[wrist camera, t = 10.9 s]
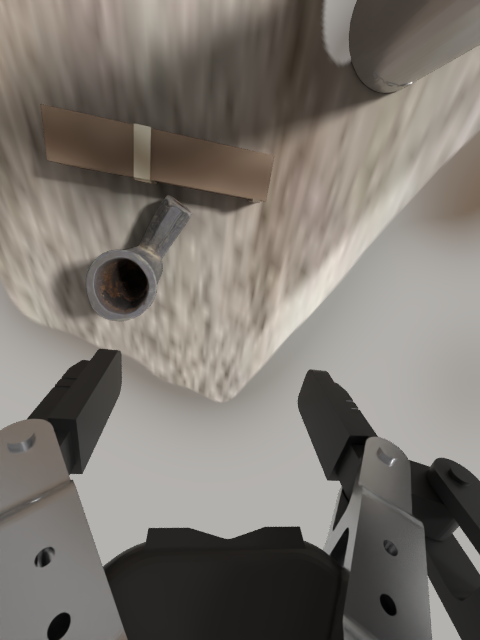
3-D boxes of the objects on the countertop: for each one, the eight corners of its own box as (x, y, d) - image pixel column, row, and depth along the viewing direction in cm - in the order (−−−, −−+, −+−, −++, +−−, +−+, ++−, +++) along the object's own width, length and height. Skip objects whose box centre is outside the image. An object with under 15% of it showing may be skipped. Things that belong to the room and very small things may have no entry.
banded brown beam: (62, 115, 24) (38, 102, 21) (266, 160, 28) (275, 154, 24) (66, 167, 26) (45, 162, 22) (258, 203, 29) (265, 204, 26)
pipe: (203, 219, 29) (202, 225, 22) (147, 305, 33) (131, 334, 26) (155, 183, 27) (137, 176, 20) (101, 278, 31) (69, 302, 24)
